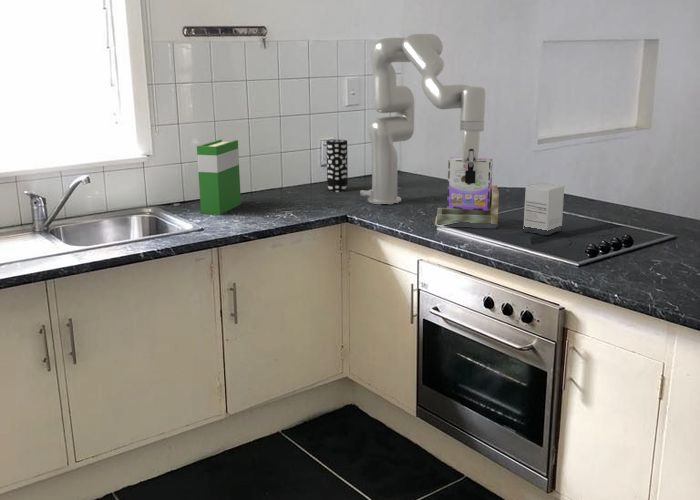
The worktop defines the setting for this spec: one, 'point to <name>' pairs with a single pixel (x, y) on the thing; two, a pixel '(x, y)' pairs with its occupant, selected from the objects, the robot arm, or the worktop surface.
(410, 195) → the worktop surface
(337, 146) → the white-spotted black cylinder
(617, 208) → the worktop surface
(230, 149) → the hardback book
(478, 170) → the candy box
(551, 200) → the supplement box
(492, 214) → the khaki l-shaped bracket
